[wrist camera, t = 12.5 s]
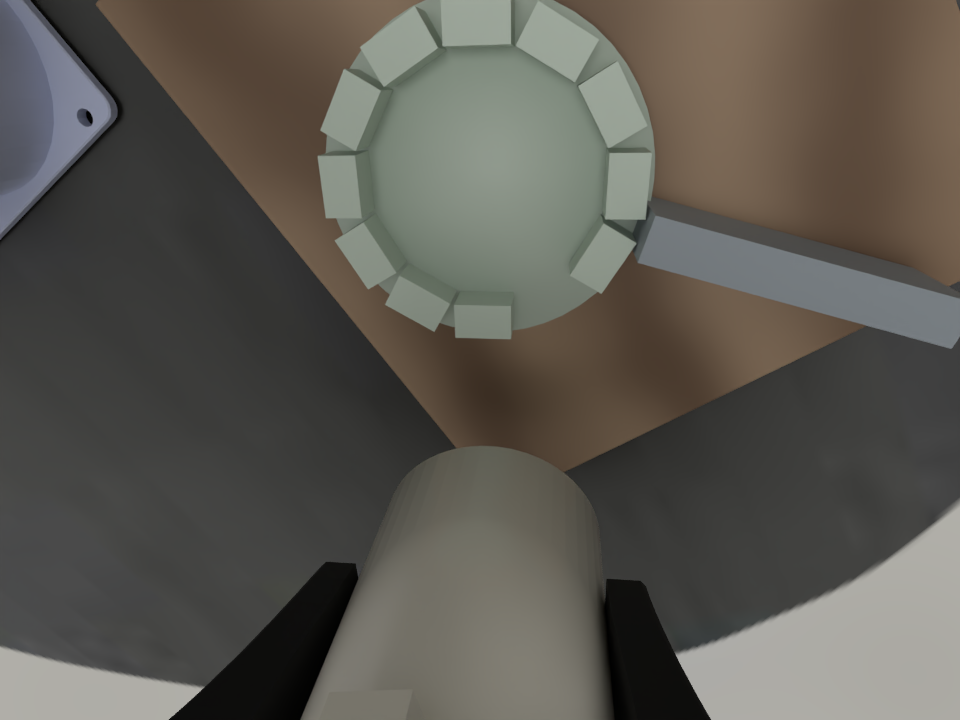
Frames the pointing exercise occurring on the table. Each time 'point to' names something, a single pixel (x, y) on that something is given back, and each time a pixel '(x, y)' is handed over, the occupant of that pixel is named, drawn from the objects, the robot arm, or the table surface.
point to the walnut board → (678, 178)
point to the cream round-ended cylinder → (475, 601)
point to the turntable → (548, 185)
